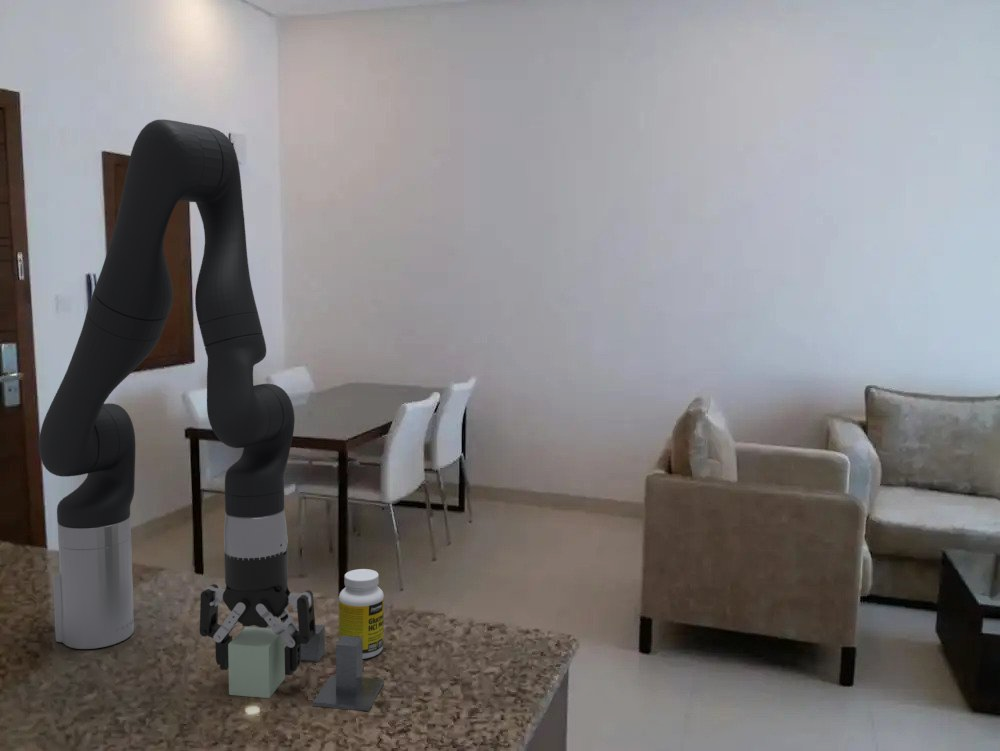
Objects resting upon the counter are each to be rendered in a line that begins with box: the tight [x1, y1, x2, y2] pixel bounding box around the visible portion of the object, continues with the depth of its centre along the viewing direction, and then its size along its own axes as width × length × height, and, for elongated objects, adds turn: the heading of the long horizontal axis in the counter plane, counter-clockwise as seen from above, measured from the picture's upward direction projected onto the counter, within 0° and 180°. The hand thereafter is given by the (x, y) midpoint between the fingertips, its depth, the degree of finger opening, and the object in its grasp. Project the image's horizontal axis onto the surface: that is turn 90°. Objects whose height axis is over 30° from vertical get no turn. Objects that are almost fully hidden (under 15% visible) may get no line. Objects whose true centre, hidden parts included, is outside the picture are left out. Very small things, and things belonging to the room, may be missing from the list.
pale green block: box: [228, 626, 286, 699], centre depth 105 cm, size 5×5×7 cm
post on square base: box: [312, 636, 385, 712], centre depth 104 cm, size 7×7×7 cm
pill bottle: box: [338, 568, 385, 660], centre depth 116 cm, size 6×6×11 cm
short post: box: [300, 624, 326, 663], centre depth 114 cm, size 3×3×4 cm
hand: (258, 669), depth 105 cm, fingers open, 8 cm apart
